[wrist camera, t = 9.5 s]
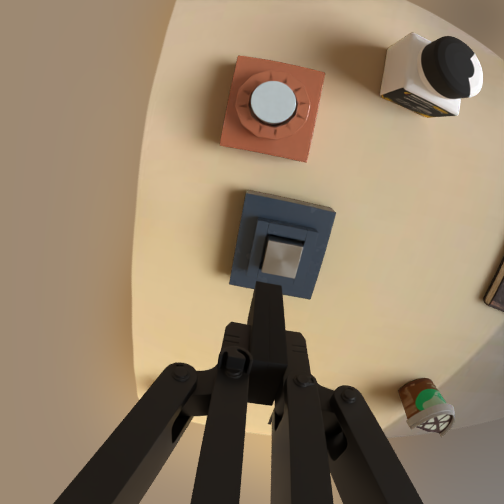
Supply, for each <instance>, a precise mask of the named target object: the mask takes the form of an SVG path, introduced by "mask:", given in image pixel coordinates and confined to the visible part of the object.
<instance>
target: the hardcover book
mask: <svg viewBox="0 0 504 504" xmlns="http://www.w3.org/2000/svg"><path fill="white" fill-rule="evenodd" d="M484 303H485V304H486V305H488V306H490V307H493V308H495V309H498V310H500V311H503V312H504V257H503V260H502V262H501V264H500V266H499V268H498V271H497V273H496V275H495V277H494V279H493V281H492V283H491V285H490V287H489V289H488V291H487V292H486V294H485V296H484Z"/></svg>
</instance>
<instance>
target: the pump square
mask: <svg viewBox="0 0 504 504" xmlns="http://www.w3.org/2000/svg"><path fill="white" fill-rule="evenodd" d="M302 250H303V245H302V242H300V241H295V240H290V239H285V238H280V237H275V236H270V235H269V236H268V240H267V244H266V249H265V253H264V258H263V262H262V272H263V273H268V274H273V275H279V276H284V277H289V278H295V276H296V272H297V269H298V265H299V262H300V258H301V254H302Z"/></svg>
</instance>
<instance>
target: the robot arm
mask: <svg viewBox="0 0 504 504" xmlns="http://www.w3.org/2000/svg"><path fill="white" fill-rule="evenodd" d="M306 347H307V346H306V340H305V338H304V337H303V335H302V334H301V333H299V332H293V331H286V330H285V318H284V306H283V295H282V286H281V285H275V284H270V283H264V282H259V281H256V284H255V289H254V293H253V298H252V302H251V307H250V311H249V316H248V322H247V325H246V324H241V323H235V322H230V323H229V324H228V325H227V326H226V329H225V333H224V338H223V343H222V348H221V352H220V354H219V358H218V364H217V365H216V366H215V367H214V368H212V369H209V370H205V371H196V370H195V369H194V367H192V366H190V365H189V364H185V363H173V364H170V365H169V366H167V367H166V368H165V369H164V371H163V372H162V373H161V374H160V376H159V377H158V378H157V379H156V380H155V382H154V383H153V384H152V385H151V387H150V388H149V389H148V390H147V391H146V393H145V394H144V395H143V396H142V397H141V399H140V400H139V401H138V402H137V404H136V405H135V406H134V407H133V408H132V410H131V411H130V412H129V413H128V415H127V416H126V417H125V418H124V419H123V421H122V422H121V423H120V424H119V426H118V427H117V428H116V429H115V430H114V431H113V433H112V434H111V435H110V436H109V438H108V439H107V440H106V441H105V442H104V444H103V445H102V446H101V447H100V448H99V450H98V451H97V452H96V453H95V454H94V456H93V457H92V458H91V459H90V461H89V462H88V463H87V464H86V465H85V467H84V468H83V469H82V470H81V471H80V472H79V474H78V475H77V476H76V477H75V478H74V480H73V481H72V482H71V483H70V484H69V486H68V487H67V488H66V489H65V490H64V492H63V493H62V494H61V495H60V496H59V498H58V499H57V500H56V501H55V502H54V504H139V503H140V501H141V499H142V498H143V496H144V495H145V493H146V492H147V490H148V489H149V487H150V486H151V484H152V483H153V481H154V479H155V478H156V476H157V475H158V473H159V472H160V470H161V469H162V467H163V465H164V464H165V462H166V461H167V459H168V457H169V456H170V454H171V452H172V451H173V449H174V448H175V446H176V445H177V443H178V441H179V440H180V438H181V436H182V435H183V433H184V432H185V430H186V428H187V427H188V425H189V423H190V422H191V420H192V418H193V416H205V415H207V420H206V425H205V431H204V436H203V441H202V446H201V451H200V457H199V462H198V467H197V472H196V477H195V483H194V489H193V493H192V499H191V504H239V498H240V487H241V474H242V463H243V449H244V438H245V425H246V413H247V402H248V403H255V404H263V405H271V406H272V405H273V402H274V400H275V408H274V410H273V412H272V415H271V417H270V419H269V422H268V424H271V422H272V456H271V459H272V461H271V504H333V495H332V486H331V477H330V473H331V475H332V478H333V480H334V482H335V485H336V487H337V490H338V492H339V495H340V497H341V499H342V502H343V504H423V502H422V500H421V499H420V497H419V495H418V493H417V491H416V489H415V488H414V486H413V484H412V482H411V480H410V479H409V477H408V475H407V473H406V471H405V469H404V468H403V466H402V464H401V462H400V461H399V459H398V457H397V455H396V454H395V452H394V450H393V448H392V446H391V445H390V443H389V441H388V439H387V438H386V436H385V434H384V432H383V431H382V429H381V427H380V425H379V424H378V422H377V420H376V418H375V417H374V415H373V413H372V411H371V410H370V408H369V406H368V405H367V403H366V401H365V399H364V398H363V396H362V394H361V393H360V392H359V391H358V390H357V389H355V388H354V387H351V386H344V385H343V386H340V387H338V388H337V389H336V390H335V391H334V390H331V389H328V388H325V387H323V386H321V385H319V384H318V383H317V381H316V378H315V377H314V376H313V375H312V374H311V372H310V365H309V359H308V354H307V348H306Z"/></svg>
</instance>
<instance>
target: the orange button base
mask: <svg viewBox="0 0 504 504" xmlns="http://www.w3.org/2000/svg"><path fill="white" fill-rule="evenodd" d="M324 77H325V73H324V72H321V71H317V70H313V69H309V68H304V67H300V66H296V65H291V64H286V63H281V62H276V61H271V60H265V59H259V58H253V57H246V56H238V58H237V62H236V67H235V71H234V76H233V80H232V85H231V90H230V94H229V99H228V104H227V109H226V114H225V119H224V124H223V129H222V134H221V140H220V146H225V147H231V148H237V149H243V150H248V151H254V152H259V153H264V154H269V155H274V156H279V157H283V158H288V159H292V160H297V161H301V162H306V163H307V159H308V155H309V150H310V146H311V141H312V136H313V131H314V127H315V122H316V117H317V112H318V107H319V102H320V97H321V92H322V87H323V82H324ZM268 81H278V82H281V83H284V84H286V85H287V86H288V87H289V88H290V89H291V90H292V91H293V93H294V95H295V98H296V107H295V110H294V112H293V114H292V115H291V116H290V117H289V118H288V119H287V120H286V121H284V122H282V123H280V124H267V123H264V122H262V121H261V120H259V119H258V118H257V117H256V115H255V114H254V112H253V109H252V107H251V96H252V94H253V92H254V90H255V89H256V88H257V87H258V86H259V85H260V84H262V83H265V82H268Z"/></svg>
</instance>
